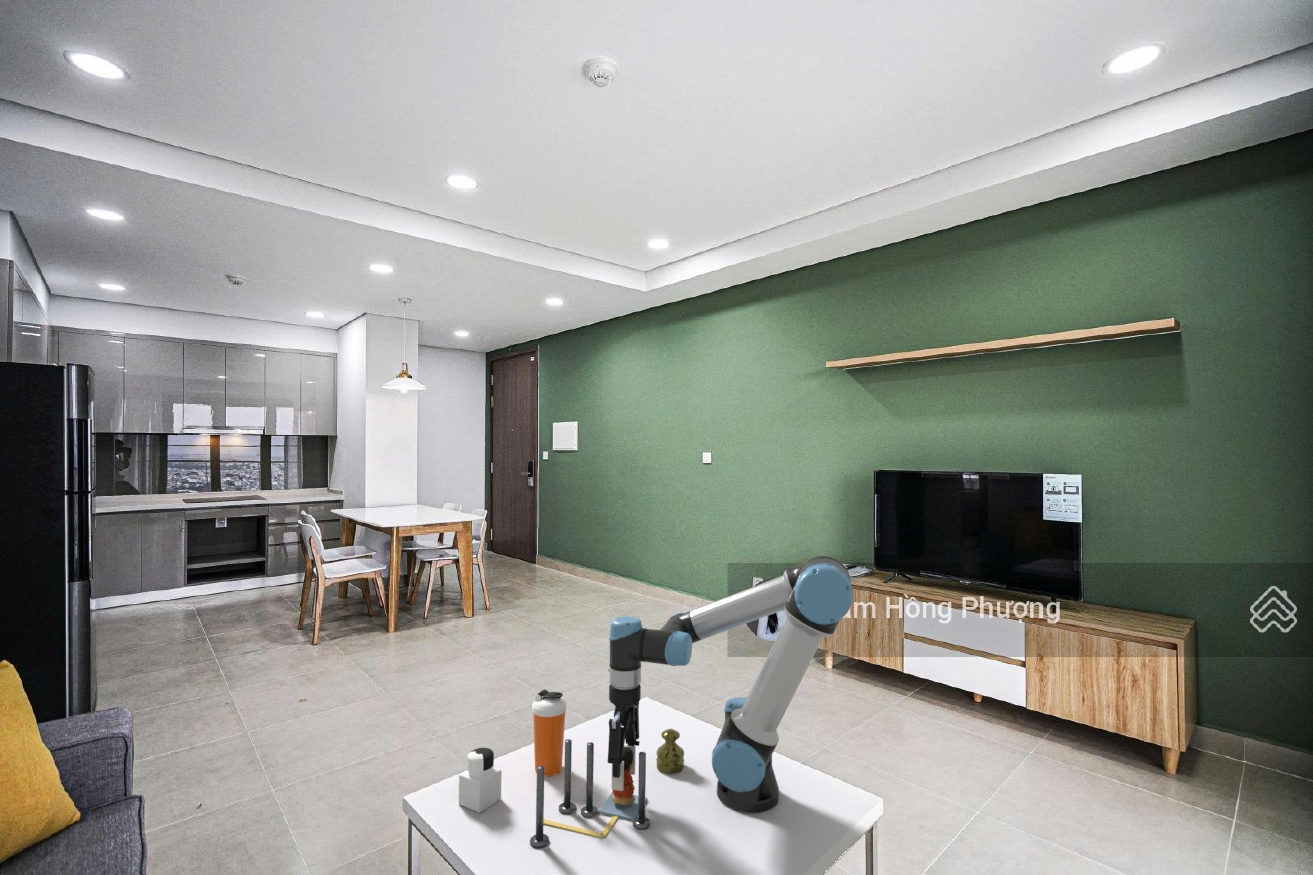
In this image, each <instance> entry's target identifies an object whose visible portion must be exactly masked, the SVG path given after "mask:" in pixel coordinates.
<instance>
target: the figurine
mask: <svg viewBox="0 0 1313 875" xmlns="http://www.w3.org/2000/svg"><path fill="white" fill-rule="evenodd" d="M622 761H624V790H623V791H619V790H614V789H612V788H611V792H613V795H612V801H613V802H614V803H616V804H620V805H625V806H626V805H628V804H631V803H633V802H634V801H635V796H634V795H635V794H634V793H635V789H636V788H635V785H634V782H635V781H634V780H633V776H632V775H631V774H630V773H629V770H630V769H631V768H632V761H633V751H632V750H631V749H630V748H629V747H624V751H623V758H622Z"/></svg>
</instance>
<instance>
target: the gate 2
mask: <svg viewBox="0 0 1313 875" xmlns="http://www.w3.org/2000/svg"><path fill="white" fill-rule="evenodd" d="M594 749H595V744H594V742H593V741H592V742H591V741H590V742H587V743H586V784H585V785H586V791H585V792H586V796H585V806H582V808H581V809H580V815H581V817H583V818H586V819H591V818H595V817H597V815H598V814H599V813H598V810H599V808H598V807H597V806H595V805H594V764H595V763H594V762H595V761H594V755H595V754H594V753H595V752H594V751H595V750H594ZM646 763H647V753H646V752H645V751H640V752H638V792H637V793H638V795H637V796H638V816H637V818H635V819H634V820H633V821H632V827H633V828H634V829H635V830H639V831H645V830H647V829H649V828H650V827H651V820H650V818H648V817H647V816H646V803H645V797H646V791H647V790H646V779H647V778H646V777H647V776H646V774H647V770H646V768H647V764H646Z"/></svg>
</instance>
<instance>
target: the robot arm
mask: <svg viewBox="0 0 1313 875" xmlns="http://www.w3.org/2000/svg"><path fill="white" fill-rule="evenodd" d="M782 574H783V575H781V576H778V577H775V578H773V579H771V580H768V581H766V582H763V583H760V584H758V585H757V584H756V585H755V586H753V587H750V588H748V589H744V590H742V591H740V592H736V593H734V594H731V595H729V596H726V597H723V598H721V599H719V600H715V601H713V602H711V603H708V604H705V605H703V606H701V607H698V608H695V609H692V610H690V611H686V612H678V613H676V614H674V615H672V616H670V617H669V618H668V620H667V622H666V623H664V625H663V626H662V627H661V628H660V629H654V628H651V629H650V628H645V627H643V625H642V621H641V619H640V618H638V617H635V616H629V615H627V616H619V617H616V618H614V619H613V620H611V623H610V630H609V631H610V632H609V638H608V639H609V640H608V641H609V667H608V669H607V671H608V672H609V688H608V701H609V702H610V703H611V704H612V705H613V706H615V707H614V710H613V718H609V719H608V727H609V733H608V746H607V747H608V750H607V764H611V790H612V789H614V790H619V791H623V790H624V761H622V758H623V751H624V747H629V748H630V749H631V750H632V751H633V761H632V768H631V769H630V770H629V773H630V774H631V776H632V775H633V776H635V775H636V753H637V752H636V746H638V747H639V746H640V741H639V739H640V718H639V716H640V714H639V713H640V712H639V711H640V710H639V708H640V701H641V694H642V692H641V688H642V687H641V683H642V663H650V664H658V665H659V664H660V665H667V666H671V667H677V666H679V667H680V666H681V667H685V666H687V665H688V664H690V661H691V657H692V652H693V644H694V643H697V642H700V641H702V640H705V639H707V638H710V637H713V636H716V635H718V634H720V633H724V632H726V631H729V630H733V629H735V628H738V627H740V626H742V625H746V624H748V623H753V622H754V621H758V620H760V619H762V618H765V617H768V616H771V615H773V614H776V613H778V612H782V611H783V610H784V612H785V614H786V619H785V621H784V623H783V625H782V627H781V629H780V631H779V632H778V635H777V636H776V639H775V641H774V643H773V645H772V646H771V648H770V651H769V653H768V655H767V657H766V658H765V661H764V663H763V665H762V667H761V669H760V671H759V673H758V675H757V677H756V679H755V681H754V683H753V685H752V687H751V689H750V691H749V693H748V694H747V697H745V696H744V697H742V696H740V697H733V698H729V699H728V700H727V701H726V702H725V703H724V708H723V710H724V722H723V723H724V724H723V726H722V728H721V732H720V734H719V736H718V739H717V741H716V744H715V745H714V748H713V749H712V752H711V753H712V755H711V766H712V769H713V772H714V775H715V776H716V778H717V783H716V795H717V798H718V799H719V801H720V802H721V803H722V804H723V805H725V806H726V807H728V809H729V808H730V809H732V810H735V811H737V812H741V813H742V812H743V813H749V814H750V813H751V814H757V813H763V812H767V811H771V810H773V809H774V808H775V807H776V806H777V805H778V803H779V801H780V789H779V788H780V787H779V783H778V781H777V778H776V775H775V771H774V767H773V754H774V752H775V750H776V747H777V746H778V743H779V740H780V736H779V734H778V731H777V729H778V727H779V725H780V723H781V722H782V720H783V717H784V716H785V713H786V712H787V709H788V708H789V705H790V703H791V701H792V699H793V698H794V696H795V694H796V692H797V689H798V688H799V686H800V683H801V682H802V680H803V678H804V676H805V674H806V672H807V670H808V668H809V666H810V664H811V662H812V660H813V658H814V657H815V654H816V652H817V650H818V648H819V647H820V644H821V642H822V641H823V639H824V638H825V637H830V636H833V635H834V632H836V629H837V628H838V626H839V624H840V622H841V620H842V619H843V618H844V617H845V616H846V615H847V614H848V613H849V611H850V609H851V607H852V604H853V601H854V589H853V585H852V582H851V575H850V573H849V570H848V569H847V567H846V566H845V565H844V564H843V563H842V562H841V561H840V560H839V559H837V558H835V557H832V556H829V555H818V556H813V557H811V558H809V559H807V560H805V561H804V562H801V563H799V564H797V565H794V566H792V567H789V568H787V569H785V570H784V571H783V573H782Z"/></svg>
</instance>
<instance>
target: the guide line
mask: <svg viewBox="0 0 1313 875" xmlns="http://www.w3.org/2000/svg"><path fill="white" fill-rule="evenodd" d="M618 819H619V818H618V816H613V817H612V816H611V818H610V820H609V821H608V823H607V824H606V826H605V827H604V829H603V830H602V831H601V832H599V831H594V830H591V829H586V828H582V827H577V826H573V825H571V824H570V825H569V824H564V823H561V822H557V821H551V820H547V819H544V825H545V826H550V827H554V828H557V829H562V830H565V831H569V832H574V833H578V834H583V835H587V836H591V837H595V838H598V839H599V838H600V839H602V838H606V837H607V835H608V834H609V833H610V831H611V830H612V828H613V826H615V823H616V822H617V821H618ZM544 825H543V826H544Z"/></svg>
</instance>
